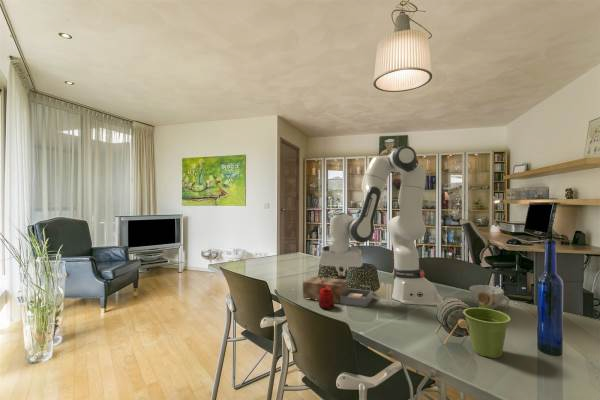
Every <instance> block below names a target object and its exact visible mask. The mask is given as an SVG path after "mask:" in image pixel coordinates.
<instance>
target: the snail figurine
mask: <svg viewBox="0 0 600 400" xmlns="http://www.w3.org/2000/svg"><path fill="white" fill-rule="evenodd" d="M492 292H495V291H494V290H493V291H492ZM490 296H491V297H489V296H488V295H487V294H486V293H484V292H480V293H479V294H478V299H479V301H478V303H479V304H480V305H482V306H477V308H486V309H491V308H490V307H489V306H491V305H492V304H493V301H494V296H495V295H494V294H493V293H491V294H490ZM491 310H493V309H491Z"/></svg>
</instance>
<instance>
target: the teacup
mask: <svg viewBox="0 0 600 400" xmlns="http://www.w3.org/2000/svg"><path fill="white" fill-rule="evenodd" d="M493 290H494V291H495V292H492V291H493ZM480 292H484V293H486V294H487V295H488V296H489V297H491V296H490V294H491V293H493V294H494V295H495V296H494V301H493V304H492V305H491V306H489V307H490V308H491V309H492V310H495V309H496V308H497V307H507V306H508V305H509V303H510V299H509V297H508V296H507V295H505V291H504V289H502V288H501V287H497V286H493V285H487V284H485V285H482V284H475V285H470V286H469V293H470V296H471V298H472V300H473V301H474V303H475V304H476V305H477V307H479V306H482V305H480V304H479V303H478V301H479V299H478V294H479V293H480ZM504 299H505V300H506V302H505V303H502V302H503V300H504Z"/></svg>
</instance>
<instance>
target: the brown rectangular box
mask: <svg viewBox="0 0 600 400" xmlns="http://www.w3.org/2000/svg"><path fill="white" fill-rule="evenodd" d="M320 278H321V277H319V276H312V277H310V278H308V279H306V280H304V281H303V282H302V298H310V299H317V300H319V294H320V291H321V289H322V287H323V284H324V286H325V287H326V286H328V287H329V288H331V291H332V292H333V296H334V301H335V302H338V303H337V304H340V296H341V295H342V294H343V293H344V292H345V291H346V290H347V289H349V280H348V279H342V278H333V277H322V278H321V280H320ZM322 280H323V281H324V282H323V283H322ZM317 300H316V301H317Z"/></svg>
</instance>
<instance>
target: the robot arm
mask: <svg viewBox="0 0 600 400" xmlns="http://www.w3.org/2000/svg"><path fill="white" fill-rule="evenodd" d="M399 173H400V175H401V176H400V177H401V183H400V188H399V192H398V193H399V194H398V197H397V198H398V199H397V204H398V206H399V207H398V208H399V215H397V216H394V217H391V218H390V219H389V220H388V222H387V226H386V228H387V231H388V232H389V236H390V240H391V245H392V250H393V260H394V261H393V263H394V267H393V273H392V274H393V280H394V282H393V290H392V294H391V298H392V299H394V300H395V301H398V302H400V303H403V304H404V305H421V306H437V304H438V303H439V302H441V301H443V302H444V298H443V297H442V295H440V294H439V292H438V288H436V285H435V284H433V282H431V281H430V280H428V279H427V278H425V272H424V269H421V268H420V263H419V262H420V258H419V250H418V249H417V247H416V244H415V241H416V240H420V239H423V237H424V236H425V235H426V232H427V226H426V224H425V221H424V217H423V201H424V195H425V189H426V180H427V179H426V178H427V177H426V176H427V174H426V173H427V172H426V169H425V168H424V167H422V166H421V165H419V160H418V157H417V152H416V150H415V149H414V148H413V147H411V146H409V145H401V146H398V147H396V149H394V150H392V151H391V152H390V154H388V155H387V156H386V157H384V156H382V155H381V156H379V155H378V156H374V157H373V158H372V159H371V160H370V162H369V164H368V166H367V168H366V169H365V172H364V175H363V178H362V180H361V181H362V182H361V191H362V194H363V197H364V199H363V205H362V207H361V211H360V214H359V217H358V218H356V217H354V216H351V215H349V214H347V213H346V212H339V213H335V214H333V215H331V217H330V221H329V233H330V236H331V237H330V243H328V244H326V245H323V246H321V252H320V255H319V256H320V259H319V260H320V261H319V263H320V265H321V266H322V267H335V270H336V272H337V275H338V277H345V276H346V271H347V269H348V268H361V267H362V266H363V258H362V255H363V251H362V248H359V247H358V246H356V247H354V246H350V239H353V240H354V241H355V242H357V243H366V242H368V241H370V240H371V239H372V238H373V236H374V232H375V231H374V229H375V228H374V220H375V217H376V214H377V209H378V206H379V202H380V199H381V196H382V194H383V192H384V189H385V187H386V184H387V181H388V177H390V174H399ZM340 268H342V270H343V271H341V269H340Z"/></svg>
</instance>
